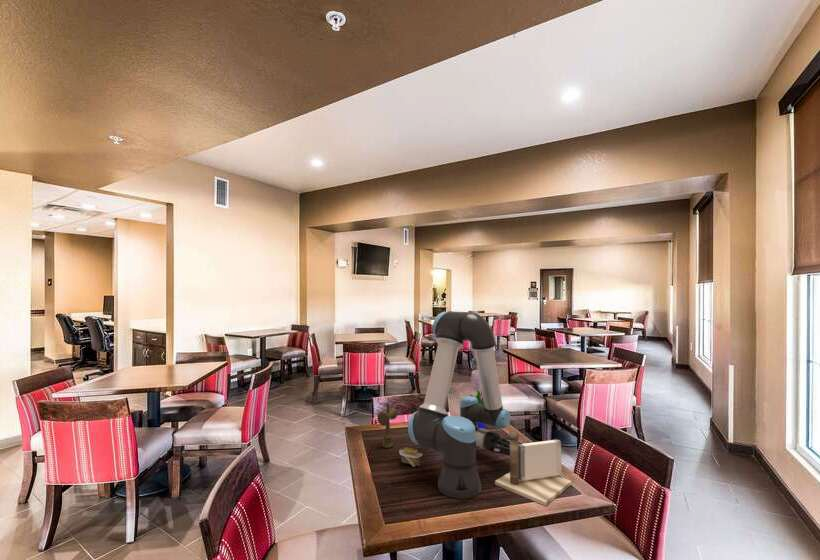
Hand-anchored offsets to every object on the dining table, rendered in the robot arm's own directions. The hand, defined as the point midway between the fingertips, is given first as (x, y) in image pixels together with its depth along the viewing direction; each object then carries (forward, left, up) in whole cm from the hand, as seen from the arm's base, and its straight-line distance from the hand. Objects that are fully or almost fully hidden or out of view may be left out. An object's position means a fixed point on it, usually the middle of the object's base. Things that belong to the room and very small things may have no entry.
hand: (541, 457), depth 136 cm
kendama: (-22, +63, -8) cm, 67 cm away
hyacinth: (+28, +48, -8) cm, 56 cm away
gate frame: (-6, +1, -8) cm, 10 cm away
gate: (-2, 0, -6) cm, 6 cm away
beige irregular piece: (-27, +43, -9) cm, 51 cm away
